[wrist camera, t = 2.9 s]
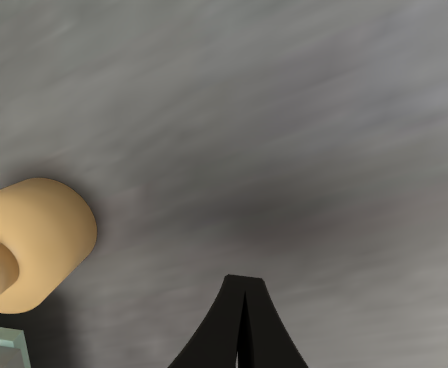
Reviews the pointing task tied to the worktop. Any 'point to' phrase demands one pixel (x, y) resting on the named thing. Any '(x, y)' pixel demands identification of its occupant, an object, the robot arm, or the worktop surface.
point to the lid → (13, 349)
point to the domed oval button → (40, 240)
